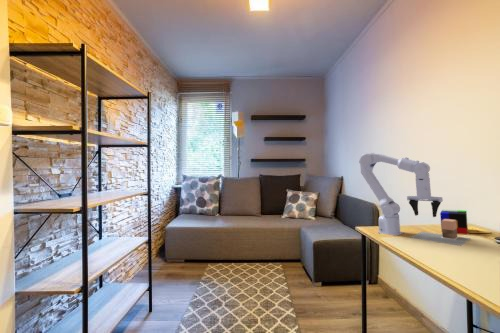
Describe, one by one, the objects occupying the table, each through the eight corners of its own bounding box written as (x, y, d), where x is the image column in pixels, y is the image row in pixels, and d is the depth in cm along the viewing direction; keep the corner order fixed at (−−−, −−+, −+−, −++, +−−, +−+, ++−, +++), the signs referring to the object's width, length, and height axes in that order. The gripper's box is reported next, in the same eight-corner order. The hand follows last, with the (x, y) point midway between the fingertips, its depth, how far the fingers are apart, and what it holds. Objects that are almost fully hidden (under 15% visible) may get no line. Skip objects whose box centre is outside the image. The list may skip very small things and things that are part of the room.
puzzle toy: (441, 232, 135) (440, 213, 135) (443, 228, 143) (442, 209, 142) (467, 235, 128) (465, 214, 128) (467, 230, 136) (466, 210, 136)
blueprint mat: (409, 238, 129) (409, 237, 129) (421, 232, 138) (421, 231, 138) (460, 246, 113) (460, 245, 113) (470, 239, 122) (470, 238, 122)
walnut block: (442, 237, 126) (442, 228, 126) (445, 235, 129) (445, 227, 129) (454, 239, 122) (453, 230, 122) (457, 236, 125) (456, 228, 125)
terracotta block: (441, 228, 126) (441, 220, 126) (445, 227, 129) (444, 218, 128) (453, 230, 122) (452, 221, 122) (456, 228, 125) (456, 219, 125)
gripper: (403, 188, 132) (405, 215, 132) (437, 188, 120) (440, 219, 120) (409, 186, 136) (411, 213, 136) (443, 187, 125) (445, 216, 125)
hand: (425, 216), depth 129 cm, fingers open, 7 cm apart
